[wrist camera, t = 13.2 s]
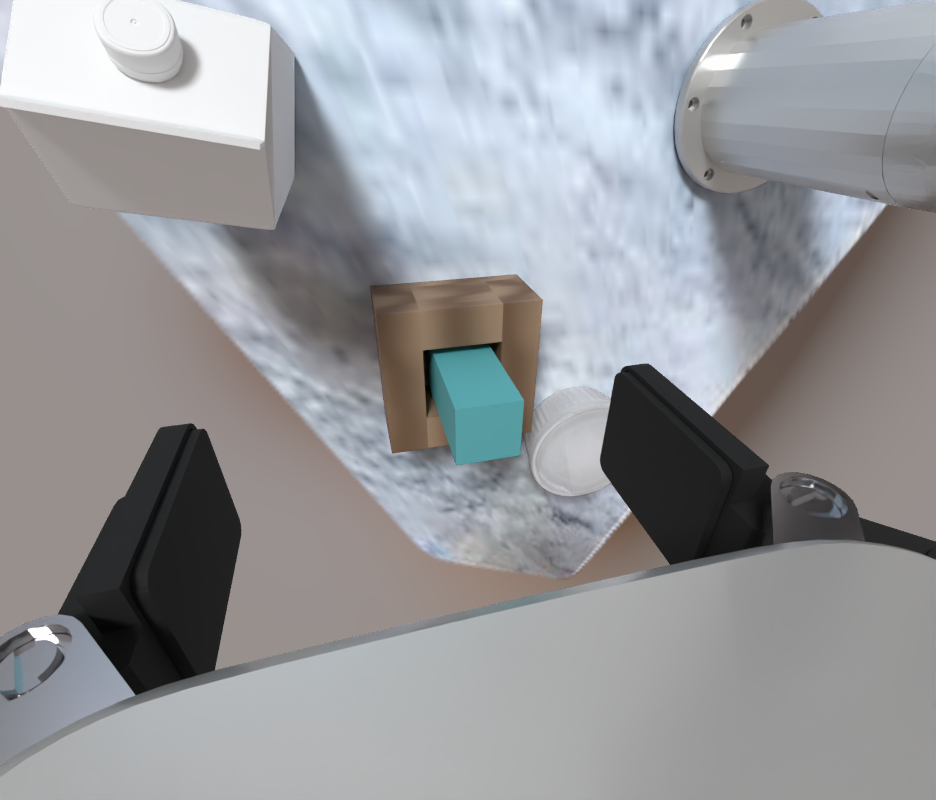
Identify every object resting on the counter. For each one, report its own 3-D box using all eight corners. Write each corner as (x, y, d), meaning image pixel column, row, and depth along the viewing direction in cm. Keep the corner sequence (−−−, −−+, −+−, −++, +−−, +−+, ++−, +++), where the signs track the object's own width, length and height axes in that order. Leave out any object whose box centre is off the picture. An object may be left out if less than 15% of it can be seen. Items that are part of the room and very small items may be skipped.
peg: (476, 325, 40) (524, 400, 31) (476, 372, 43) (520, 455, 33) (423, 330, 39) (455, 409, 30) (426, 378, 42) (456, 465, 32)
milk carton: (295, 178, 32) (264, 258, 17) (175, 160, 30) (15, 232, 15) (295, 51, 29) (256, 4, 13) (160, 20, 27) (-72, -78, 11)
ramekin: (493, 434, 49) (509, 467, 44) (574, 355, 46) (599, 383, 42) (558, 479, 54) (578, 513, 50) (634, 412, 52) (662, 441, 47)
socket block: (516, 274, 40) (542, 300, 35) (509, 396, 46) (531, 432, 41) (370, 286, 37) (376, 315, 33) (385, 413, 44) (392, 453, 39)
